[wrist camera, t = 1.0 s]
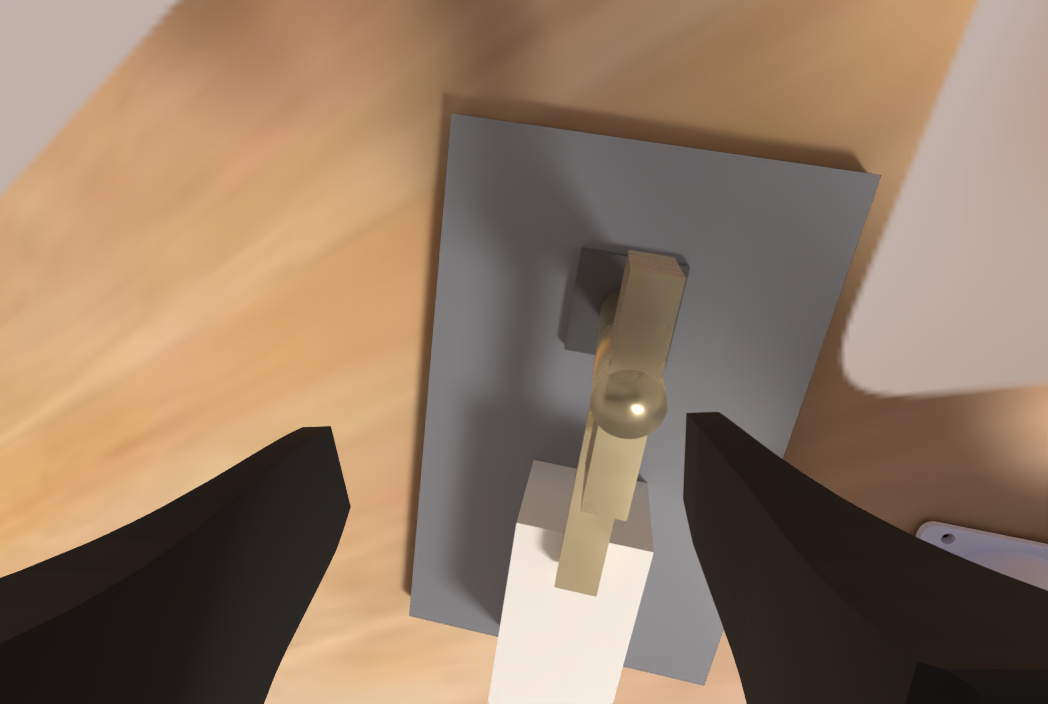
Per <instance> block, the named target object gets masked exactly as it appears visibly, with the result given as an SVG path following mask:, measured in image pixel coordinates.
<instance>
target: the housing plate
mask: <svg viewBox="0 0 1048 704" xmlns="http://www.w3.org/2000/svg"><path fill="white" fill-rule="evenodd" d="M880 178H881V175H877V174H870V173H863V172H856V171H849V170H842V169H835V168H828V167H821V166H814V165H807V164H800V163H793V162H786V161H780V160H773V159H766V158H759V157H752V156H745V155H738V154H731V153H724V152H717V151H710V150H703V149H696V148H689V147H682V146H675V145H668V144H661V143H654V142H647V141H641V140H634V139H627V138H620V137H613V136H606V135H599V134H592V133H585V132H578V131H571V130H564V129H557V128H550V127H543V126H536V125H529V124H522V123H515V122H508V121H502V120H495V119H488V118H481V117H474V116H467V115H460V114H453V113H451V122H450V134H449V146H448V158H447V170H446V182H445V194H444V206H443V218H442V230H441V242H440V254H439V266H438V278H437V290H436V302H435V314H434V326H433V338H432V350H431V362H430V373H429V385H428V397H427V409H426V421H425V433H424V445H423V457H422V469H421V481H420V493H419V505H418V517H417V529H416V541H415V553H414V565H413V577H412V589H411V601H410V613H409V616H412V617H416V618H420V619H425V620H429V621H433V622H437V623H442V624H446V625H450V626H454V627H458V628H463V629H467V630H471V631H475V632H480V633H484V634H488V635H492V636H496V637H498V635H499V629H500V623H501V617H502V610H503V604H504V598H505V592H506V585H507V579H508V573H509V566H510V560H511V554H512V548H513V541H514V535H515V529H516V523H517V519H518V515H519V512H520V508H521V504H522V501H523V497H524V493H525V490H526V486H527V482H528V479H529V475H530V471H531V468H532V464H533V460H537V461H542V462H547V463H552V464H556V465H561V466H566V467H571V468H576V469H577V465H578V460H579V455H580V450H581V445H582V440H583V435H584V430H585V425H586V420H587V415H588V410H589V405H590V400H591V392H592V383H593V374H594V364H595V355H596V346H597V336H598V327H599V318H600V309H601V305H602V302H603V301H604V299H605V298H606V297H607V296H608V295H609V294H610V293H611V292H613V291H615V290H618V289H621V284H622V279H623V274H624V269H625V264H626V259H627V254H628V250H634V251H640V252H646V253H652V254H658V255H665V256H671V257H675V259H676V261H677V262H678V264H679V266H680V268H681V270H682V272H683V273H684V275H685V277H686V281H685V285H684V289H683V293H682V297H681V301H680V305H679V309H678V313H677V317H676V322H675V326H674V330H673V334H672V338H671V342H670V346H669V350H668V354H667V358H666V363H665V367H664V371H663V375H662V376H663V381H664V386H665V391H666V396H667V403H668V406H667V413H666V416H665V418H664V420H663V422H662V423H661V425H660V426H659V427H658V428H657V429H656V430H655V431H653V432H652V433H650V434H649V435H648V436H647V440H646V444H645V449H644V453H643V457H642V461H641V465H640V469H639V473H638V477H637V481H640V482H645V483H648V494H649V505H650V516H651V527H652V538H653V549H654V554H653V557H652V561H651V565H650V568H649V572H648V576H647V579H646V583H645V587H644V590H643V594H642V598H641V602H640V605H639V609H638V613H637V616H636V620H635V624H634V627H633V631H632V635H631V638H630V642H629V646H628V649H627V653H626V657H625V661H624V664H623V667H627V668H632V669H636V670H640V671H644V672H649V673H653V674H657V675H661V676H666V677H670V678H674V679H678V680H682V681H687V682H691V683H695V684H699V685H705V682H706V679H707V676H708V673H709V670H710V668H711V665H712V662H713V659H714V656H715V653H716V650H717V647H718V644H719V642H720V639H721V636H722V633H723V630H724V628H723V625H722V623H721V620H720V617H719V615H718V612H717V609H716V606H715V604H714V601H713V598H712V595H711V593H710V590H709V587H708V585H707V582H706V579H705V576H704V573H703V571H702V568H701V565H700V562H699V560H698V557H697V554H696V551H695V548H694V545H693V542H692V537H691V533H690V529H689V525H688V520H687V515H686V511H685V506H684V501H683V485H684V461H685V436H686V413H697V412H720V413H721V414H723V415H724V416H726V417H727V418H728V419H730V420H731V421H732V422H734V423H735V424H736V425H738V426H739V427H740V428H741V429H743V430H744V431H745V432H747V433H748V434H749V435H751V436H752V437H753V438H755V439H756V440H757V441H759V442H760V443H761V444H763V445H764V446H765V447H767V448H768V449H769V450H771V451H772V452H773V453H775V454H776V455H778V456H779V457H780V458H782V459H783V457H784V454H785V451H786V449H787V446H788V443H789V440H790V437H791V434H792V431H793V428H794V425H795V423H796V420H797V417H798V414H799V411H800V408H801V405H802V402H803V400H804V397H805V394H806V391H807V388H808V385H809V382H810V379H811V376H812V374H813V371H814V368H815V365H816V362H817V359H818V356H819V353H820V351H821V348H822V345H823V342H824V339H825V336H826V333H827V330H828V327H829V325H830V322H831V319H832V316H833V313H834V310H835V307H836V304H837V302H838V299H839V296H840V293H841V290H842V287H843V284H844V281H845V278H846V276H847V273H848V270H849V267H850V264H851V261H852V258H853V255H854V253H855V250H856V247H857V244H858V241H859V238H860V235H861V232H862V229H863V227H864V224H865V221H866V218H867V215H868V212H869V209H870V206H871V204H872V201H873V198H874V195H875V192H876V189H877V186H878V183H879V180H880Z"/></svg>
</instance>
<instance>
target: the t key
mask: <svg viewBox="0 0 1048 704" xmlns="http://www.w3.org/2000/svg"><path fill="white" fill-rule="evenodd" d="M685 281H686V277H685V275H684V273H683V272H682V270H681V268H680V266H679V264H678V262H677V261H676V259H675V257H671V256H665V255H658V254H652V253H646V252H640V251H634V250H628V254H627V259H626V264H625V269H624V274H623V279H622V284H621V289H618V290H615V291H613V292H611V293H610V294H609V295H608V296H607V297H606V298H605V299H604V301H603V302H602V305H601V309H600V318H599V327H598V336H597V346H596V355H595V364H594V374H593V383H592V392H591V400H590V405H589V410H588V415H587V420H586V425H585V430H584V435H583V440H582V445H581V450H580V455H579V460H578V465H577V470H576V475H575V480H574V485H573V491H572V496H571V501H570V506H569V511H568V516H567V521H566V526H565V531H564V536H563V541H562V546H561V551H560V556H559V561H558V566H557V571H556V578H555V585H554V587H555V588H560V589H564V590H568V591H573V592H577V593H582V594H586V595H591V596H595V597H596V596H597V592H598V588H599V583H600V579H601V575H602V571H603V566H604V562H605V558H606V553H607V549H608V545H609V541H610V536H611V532H612V528H613V524H614V519H618V520H623V521H627V518H628V514H629V510H630V506H631V502H632V498H633V494H634V490H635V485H636V481H637V477H638V473H639V469H640V465H641V461H642V457H643V453H644V449H645V444H646V440H647V436H648V435H649V434H650V433H652V432H653V431H655V430H656V429H657V428H658V427H659V426H660V425H661V423H662V422H663V420H664V418H665V416H666V413H667V406H668V403H667V396H666V391H665V386H664V381H663V376H662V375H663V371H664V367H665V363H666V358H667V354H668V350H669V346H670V342H671V338H672V334H673V330H674V326H675V322H676V317H677V313H678V309H679V305H680V301H681V297H682V293H683V289H684V285H685Z"/></svg>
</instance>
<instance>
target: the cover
mask: <svg viewBox="0 0 1048 704" xmlns="http://www.w3.org/2000/svg"><path fill="white" fill-rule="evenodd" d="M576 470H577V469H576V468H571V467H566V466H561V465H556V464H552V463H547V462H542V461H537V460H533V464H532V468H531V471H530V475H529V479H528V482H527V486H526V490H525V493H524V497H523V501H522V504H521V508H520V512H519V515H518V519H517V523H516V529H515V535H514V541H513V548H512V554H511V560H510V566H509V573H508V579H507V585H506V592H505V598H504V604H503V610H502V617H501V623H500V629H499V635H498V642H497V648H496V654H495V660H494V667H493V673H492V679H491V685H490V692H489V698H488V704H613V701H614V697H615V694H616V690H617V686H618V683H619V679H620V675H621V672H622V668H623V664H624V661H625V657H626V653H627V649H628V646H629V642H630V638H631V635H632V631H633V627H634V624H635V620H636V616H637V613H638V609H639V605H640V602H641V598H642V594H643V590H644V587H645V583H646V579H647V576H648V572H649V568H650V565H651V561H652V557H653V554H654V549H653V538H652V527H651V516H650V505H649V494H648V483H645V482H640V481H636V485H635V490H634V494H633V498H632V502H631V506H630V510H629V514H628V518H627V521H623V520H618V519H614V524H613V528H612V532H611V536H610V541H609V545H608V549H607V553H606V558H605V562H604V566H603V571H602V575H601V579H600V583H599V588H598V592H597V596H596V597H595V596H591V595H586V594H582V593H577V592H573V591H568V590H564V589H560V588H555V587H554V585H555V578H556V571H557V566H558V561H559V556H560V551H561V546H562V541H563V536H564V531H565V526H566V521H567V516H568V511H569V506H570V501H571V496H572V491H573V485H574V480H575V475H576Z"/></svg>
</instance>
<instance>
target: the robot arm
mask: <svg viewBox="0 0 1048 704" xmlns="http://www.w3.org/2000/svg"><path fill="white" fill-rule="evenodd" d="M683 501H684V506H685V511H686V515H687V520H688V525H689V529H690V533H691V537H692V542H693V545H694V548H695V551H696V554H697V557H698V560H699V562H700V565H701V568H702V571H703V573H704V576H705V579H706V582H707V585H708V587H709V590H710V593H711V595H712V598H713V601H714V604H715V606H716V609H717V612H718V615H719V617H720V620H721V623H722V625H723V628H724V631H725V634H726V636H727V639H728V642H729V645H730V647H731V650H732V653H733V656H734V660H735V663H736V666H737V669H738V672H739V675H740V679H741V683H742V687H743V691H744V694H745V698H746V702H747V704H1048V544H1046V543H1041V542H1036V541H1031V540H1026V539H1021V538H1016V537H1011V536H1006V535H1001V534H996V533H991V532H986V531H981V530H976V529H971V528H966V527H961V526H956V525H951V524H946V523H941V522H936V521H930V522H926V523H924V524H923V525H921V526H920V528H919V529H918V531H917V534H916V536H913V535H911V534H909V533H907V532H905V531H903V530H901V529H899V528H897V527H895V526H893V525H891V524H889V523H887V522H885V521H883V520H881V519H880V518H878V517H876V516H874V515H872V514H870V513H868V512H866V511H865V510H863V509H861V508H859V507H857V506H855V505H853V504H852V503H850V502H848V501H847V500H845V499H843V498H841V497H840V496H838V495H836V494H835V493H833V492H832V491H830V490H828V489H827V488H825V487H824V486H822V485H821V484H819V483H817V482H816V481H814V480H813V479H811V478H809V477H808V476H806V475H805V474H803V473H802V472H800V471H799V470H798V469H796V468H795V467H793V466H792V465H790V464H789V463H787V462H786V461H785V460H783V459H782V458H780V457H779V456H778V455H776V454H775V453H773V452H772V451H771V450H769V449H768V448H767V447H765V446H764V445H763V444H761V443H760V442H759V441H757V440H756V439H755V438H753V437H752V436H751V435H749V434H748V433H747V432H745V431H744V430H743V429H741V428H740V427H739V426H738V425H736V424H735V423H734V422H732V421H731V420H730V419H728V418H727V417H726V416H724V415H723V414H721V413H720V412H697V413H686V436H685V461H684V485H683ZM349 510H350V503H349V498H348V494H347V490H346V486H345V482H344V478H343V474H342V470H341V466H340V462H339V458H338V454H337V450H336V446H335V442H334V437H333V433H332V429H331V426H326V427H302V428H300V429H298V430H296V431H293V432H292V433H290V434H288V435H286V436H284V437H282V438H280V439H279V440H277V441H275V442H273V443H272V444H270V445H268V446H267V447H265V448H263V449H261V450H260V451H258V452H256V453H255V454H253V455H251V456H250V457H248V458H246V459H245V460H243V461H241V462H240V463H238V464H236V465H235V466H233V467H231V468H230V469H228V470H226V471H225V472H223V473H221V474H220V475H218V476H216V477H215V478H213V479H211V480H210V481H208V482H206V483H204V484H202V485H201V486H199V487H197V488H195V489H193V490H192V491H190V492H188V493H186V494H185V495H183V496H181V497H179V498H177V499H176V500H174V501H172V502H170V503H168V504H167V505H165V506H163V507H161V508H159V509H157V510H155V511H154V512H152V513H150V514H148V515H146V516H144V517H142V518H140V519H138V520H136V521H134V522H132V523H130V524H128V525H125V526H123V527H121V528H119V529H117V530H115V531H113V532H111V533H109V534H106V535H104V536H102V537H100V538H98V539H96V540H93V541H91V542H89V543H87V544H84V545H82V546H79V547H77V548H74V549H72V550H70V551H67V552H65V553H62V554H60V555H57V556H55V557H52V558H50V559H48V560H45V561H43V562H40V563H38V564H35V565H33V566H30V567H28V568H26V569H23V570H21V571H18V572H15V573H13V574H10V575H7V576H4V577H2V578H0V704H264V702H265V699H266V697H267V694H268V692H269V689H270V686H271V684H272V681H273V679H274V676H275V674H276V672H277V669H278V667H279V665H280V663H281V661H282V658H283V656H284V654H285V652H286V650H287V648H288V646H289V644H290V642H291V640H292V638H293V636H294V634H295V632H296V630H297V628H298V626H299V624H300V622H301V620H302V618H303V616H304V614H305V612H306V610H307V608H308V606H309V604H310V602H311V600H312V598H313V596H314V594H315V592H316V590H317V588H318V586H319V584H320V582H321V580H322V578H323V576H324V574H325V572H326V570H327V568H328V566H329V564H330V562H331V560H332V558H333V556H334V554H335V552H336V549H337V546H338V544H339V541H340V538H341V535H342V532H343V529H344V526H345V523H346V520H347V517H348V513H349ZM945 534H950V535H949V536H948V537H946V538H942V536H943V535H945Z"/></svg>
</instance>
